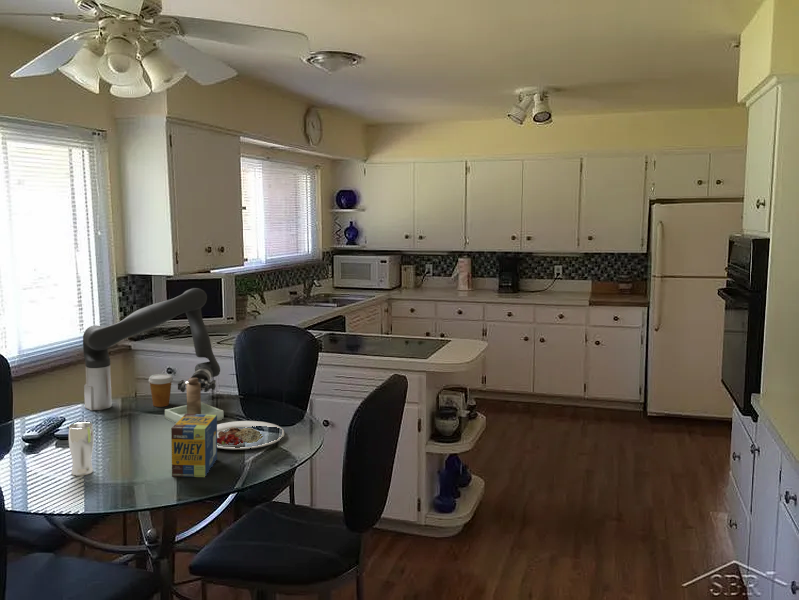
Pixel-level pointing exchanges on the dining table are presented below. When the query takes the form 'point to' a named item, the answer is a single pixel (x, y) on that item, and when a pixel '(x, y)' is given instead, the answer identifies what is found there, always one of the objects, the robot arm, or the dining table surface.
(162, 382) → the disposable coffee cup
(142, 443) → the dining table surface
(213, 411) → the bin
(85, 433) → the beer glass
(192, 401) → the pepper mill
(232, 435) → the plated food
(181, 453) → the protein box
